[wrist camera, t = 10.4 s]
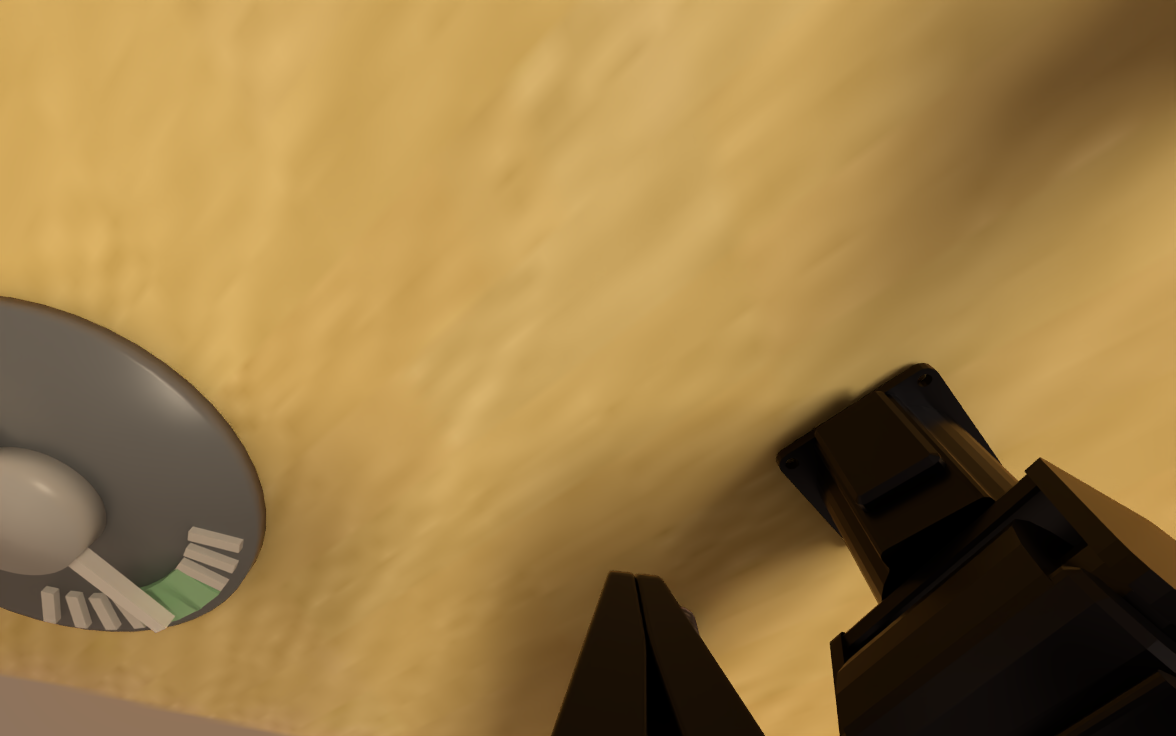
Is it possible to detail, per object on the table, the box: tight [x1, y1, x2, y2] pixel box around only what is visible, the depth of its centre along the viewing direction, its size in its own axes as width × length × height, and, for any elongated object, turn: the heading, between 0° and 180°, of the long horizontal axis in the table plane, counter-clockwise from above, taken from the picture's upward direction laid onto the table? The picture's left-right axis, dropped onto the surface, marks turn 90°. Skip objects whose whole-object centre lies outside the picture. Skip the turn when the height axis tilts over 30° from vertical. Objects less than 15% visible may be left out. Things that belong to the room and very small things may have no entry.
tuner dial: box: [0, 296, 266, 631], centre depth 23 cm, size 16×16×1 cm
